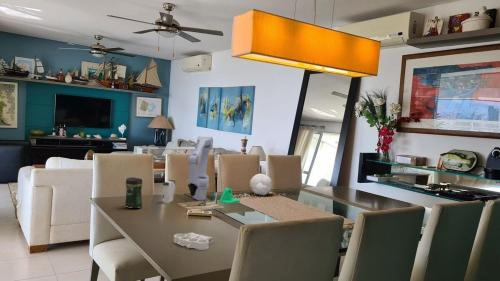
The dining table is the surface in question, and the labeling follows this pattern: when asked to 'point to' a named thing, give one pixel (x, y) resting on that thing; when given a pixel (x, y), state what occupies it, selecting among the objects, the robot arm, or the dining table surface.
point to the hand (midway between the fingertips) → (192, 195)
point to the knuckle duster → (193, 241)
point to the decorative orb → (260, 184)
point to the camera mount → (228, 197)
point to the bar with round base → (196, 203)
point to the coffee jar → (133, 192)
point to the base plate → (196, 207)
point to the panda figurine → (168, 191)
